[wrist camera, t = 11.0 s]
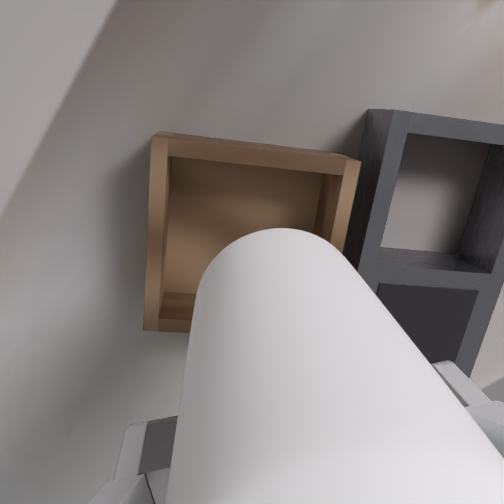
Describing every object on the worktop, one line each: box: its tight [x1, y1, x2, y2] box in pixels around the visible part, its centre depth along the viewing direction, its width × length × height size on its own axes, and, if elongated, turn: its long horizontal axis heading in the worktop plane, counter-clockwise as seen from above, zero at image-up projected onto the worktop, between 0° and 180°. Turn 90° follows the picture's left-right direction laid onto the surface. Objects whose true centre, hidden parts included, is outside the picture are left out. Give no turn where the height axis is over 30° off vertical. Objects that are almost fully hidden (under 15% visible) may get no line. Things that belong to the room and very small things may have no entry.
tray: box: [342, 109, 504, 378], centre depth 26 cm, size 17×9×4 cm, turn 173°
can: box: [165, 228, 504, 504], centre depth 11 cm, size 6×6×12 cm
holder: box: [143, 132, 361, 333], centre depth 24 cm, size 11×11×4 cm
